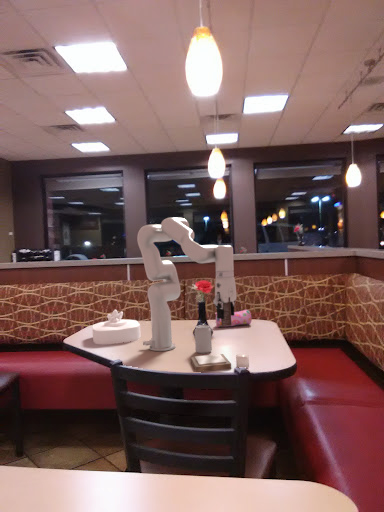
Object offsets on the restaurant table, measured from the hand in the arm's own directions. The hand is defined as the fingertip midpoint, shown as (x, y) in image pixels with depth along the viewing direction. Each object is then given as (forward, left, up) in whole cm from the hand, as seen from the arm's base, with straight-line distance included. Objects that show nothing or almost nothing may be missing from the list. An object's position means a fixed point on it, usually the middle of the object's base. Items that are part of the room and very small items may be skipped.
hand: (225, 316), depth 168 cm
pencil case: (+20, +65, -19) cm, 71 cm away
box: (0, 0, -4) cm, 4 cm away
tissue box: (-48, +59, -19) cm, 78 cm away
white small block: (+4, -10, -19) cm, 22 cm away
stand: (-8, -4, -19) cm, 21 cm away
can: (-7, +16, -19) cm, 26 cm away
